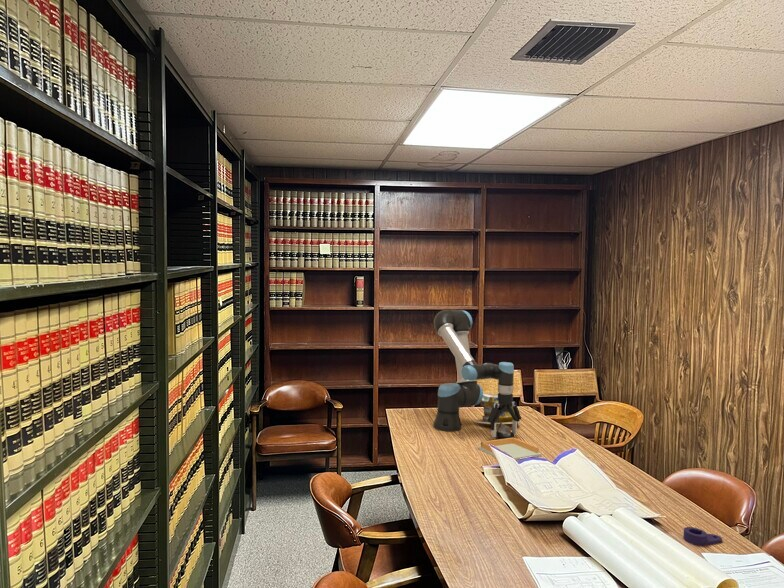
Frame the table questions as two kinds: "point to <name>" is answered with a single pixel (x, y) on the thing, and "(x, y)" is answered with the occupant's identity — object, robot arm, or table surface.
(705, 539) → the lever
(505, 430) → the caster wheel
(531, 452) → the shallow square tray
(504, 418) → the stacked cans on tray
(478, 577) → the table surface
